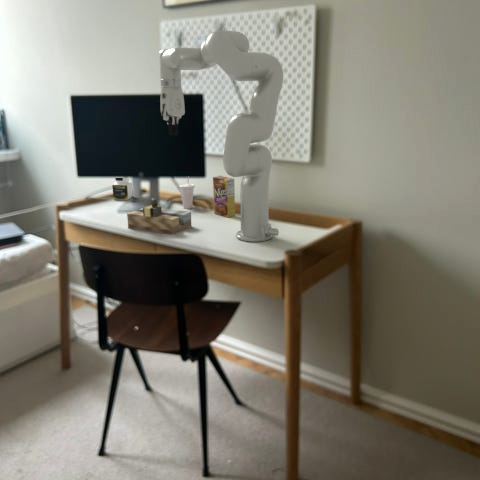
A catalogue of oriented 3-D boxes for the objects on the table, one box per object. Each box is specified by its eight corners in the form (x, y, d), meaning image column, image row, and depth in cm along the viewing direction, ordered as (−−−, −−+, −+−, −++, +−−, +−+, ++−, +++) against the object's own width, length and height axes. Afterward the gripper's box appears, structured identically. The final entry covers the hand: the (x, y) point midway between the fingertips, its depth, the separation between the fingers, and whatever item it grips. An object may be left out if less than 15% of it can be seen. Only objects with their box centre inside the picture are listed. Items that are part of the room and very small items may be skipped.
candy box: (213, 213, 210) (212, 176, 205) (221, 212, 213) (220, 175, 208) (227, 217, 204) (226, 179, 199) (235, 216, 206) (235, 178, 202)
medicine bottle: (113, 199, 236) (111, 173, 233) (119, 196, 243) (117, 170, 239) (128, 200, 235) (126, 173, 231) (133, 196, 242) (131, 171, 238)
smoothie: (192, 209, 217) (191, 176, 212) (178, 209, 218) (176, 176, 214) (197, 206, 223) (195, 173, 218) (182, 205, 224) (181, 173, 220)
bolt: (160, 213, 189) (159, 198, 187) (150, 216, 184) (149, 202, 182) (154, 212, 190) (153, 198, 188) (144, 216, 185) (143, 201, 183)
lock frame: (191, 226, 192) (190, 203, 190) (173, 234, 182) (172, 211, 180) (147, 220, 201) (146, 198, 199) (128, 227, 191) (126, 205, 188)
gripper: (168, 85, 183) (170, 137, 189) (190, 84, 196) (192, 133, 201) (150, 85, 186) (153, 136, 192) (173, 84, 199) (175, 132, 205)
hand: (173, 134), depth 197 cm, fingers closed
